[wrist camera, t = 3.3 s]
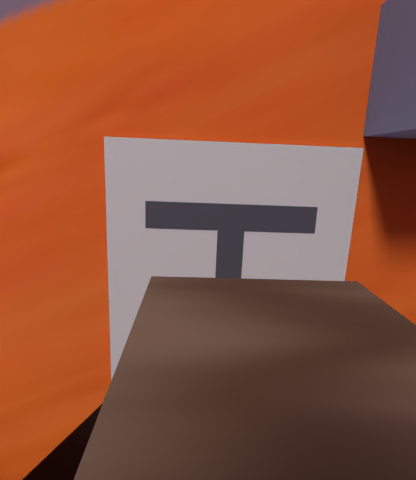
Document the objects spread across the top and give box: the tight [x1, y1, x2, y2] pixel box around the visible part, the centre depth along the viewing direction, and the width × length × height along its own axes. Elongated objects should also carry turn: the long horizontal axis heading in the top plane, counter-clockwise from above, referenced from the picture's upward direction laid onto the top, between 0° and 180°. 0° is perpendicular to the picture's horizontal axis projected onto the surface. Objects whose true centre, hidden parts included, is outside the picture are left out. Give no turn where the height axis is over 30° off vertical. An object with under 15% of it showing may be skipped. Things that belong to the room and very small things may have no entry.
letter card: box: [104, 137, 364, 381], centre depth 15 cm, size 11×12×1 cm
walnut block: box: [74, 276, 416, 480], centre depth 6 cm, size 5×5×6 cm
